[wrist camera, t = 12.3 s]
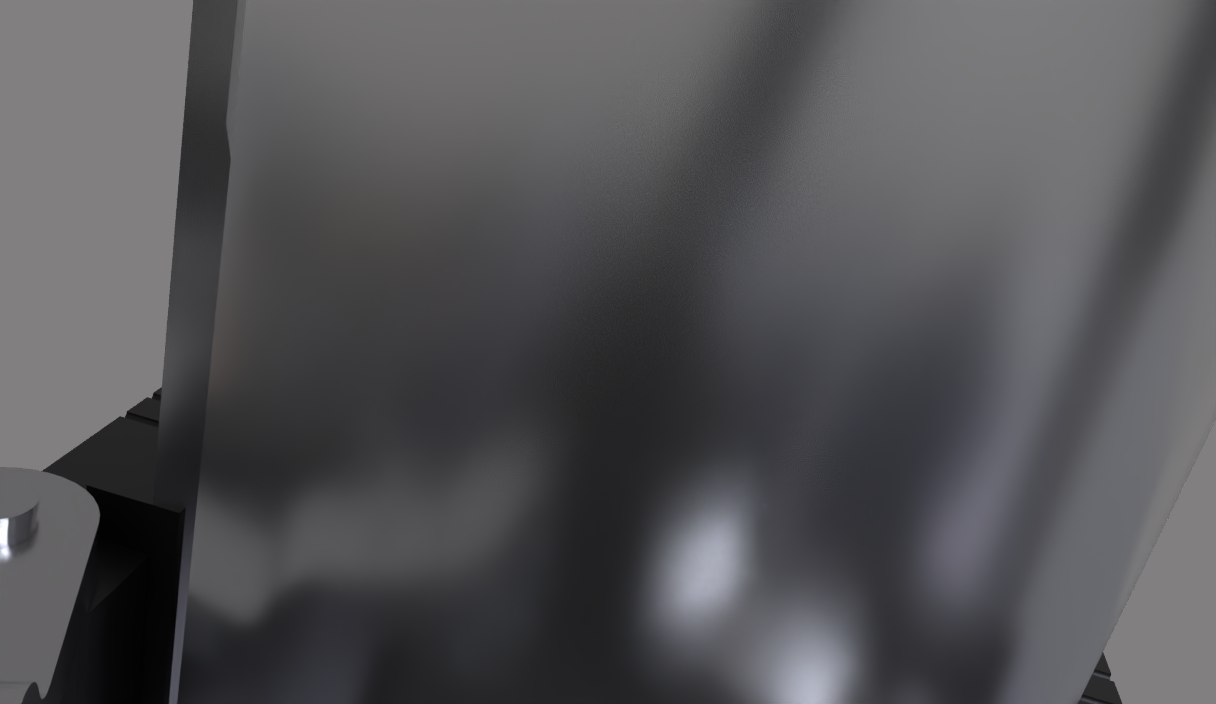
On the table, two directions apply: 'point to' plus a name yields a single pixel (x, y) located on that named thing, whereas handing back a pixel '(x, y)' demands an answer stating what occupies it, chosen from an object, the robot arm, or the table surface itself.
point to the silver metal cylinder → (681, 345)
